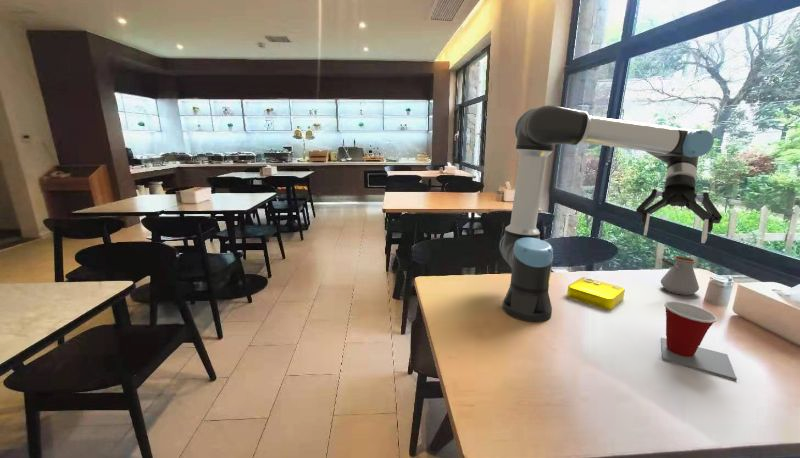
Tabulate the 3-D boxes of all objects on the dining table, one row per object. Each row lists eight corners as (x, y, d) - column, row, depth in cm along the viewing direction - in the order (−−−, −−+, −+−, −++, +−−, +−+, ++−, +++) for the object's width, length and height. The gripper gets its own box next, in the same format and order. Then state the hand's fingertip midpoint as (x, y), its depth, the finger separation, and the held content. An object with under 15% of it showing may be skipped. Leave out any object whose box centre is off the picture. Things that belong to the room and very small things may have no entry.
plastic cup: (718, 366, 86) (729, 321, 83) (668, 359, 88) (678, 316, 86) (692, 342, 96) (702, 302, 94) (648, 337, 99) (656, 298, 96)
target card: (662, 359, 89) (662, 357, 89) (660, 339, 99) (661, 337, 99) (736, 380, 82) (736, 378, 82) (726, 356, 91) (727, 354, 91)
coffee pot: (669, 283, 140) (677, 247, 136) (703, 294, 130) (713, 256, 126) (637, 292, 131) (644, 254, 127) (671, 305, 121) (680, 264, 117)
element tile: (564, 297, 127) (566, 284, 126) (581, 286, 137) (582, 275, 135) (610, 311, 116) (612, 298, 115) (624, 299, 126) (626, 287, 125)
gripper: (729, 192, 106) (727, 251, 97) (632, 185, 120) (622, 236, 111) (737, 175, 100) (735, 236, 92) (634, 170, 114) (624, 223, 106)
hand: (673, 236), depth 102 cm, fingers open, 13 cm apart
